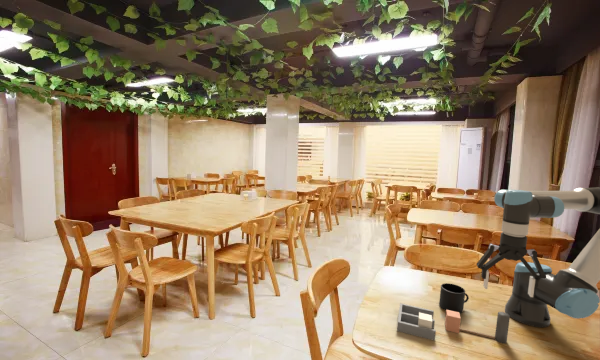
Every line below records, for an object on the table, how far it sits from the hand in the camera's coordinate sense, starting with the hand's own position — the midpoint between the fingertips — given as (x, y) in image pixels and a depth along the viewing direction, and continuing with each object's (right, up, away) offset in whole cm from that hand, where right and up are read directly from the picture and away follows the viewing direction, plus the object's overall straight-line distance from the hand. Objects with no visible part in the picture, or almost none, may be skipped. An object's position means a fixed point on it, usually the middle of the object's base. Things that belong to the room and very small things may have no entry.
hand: (507, 291), depth 105 cm
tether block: (-9, -18, +5) cm, 21 cm away
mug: (-7, -16, +23) cm, 29 cm away
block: (-28, -17, +5) cm, 33 cm away
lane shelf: (-29, -17, +9) cm, 35 cm away
